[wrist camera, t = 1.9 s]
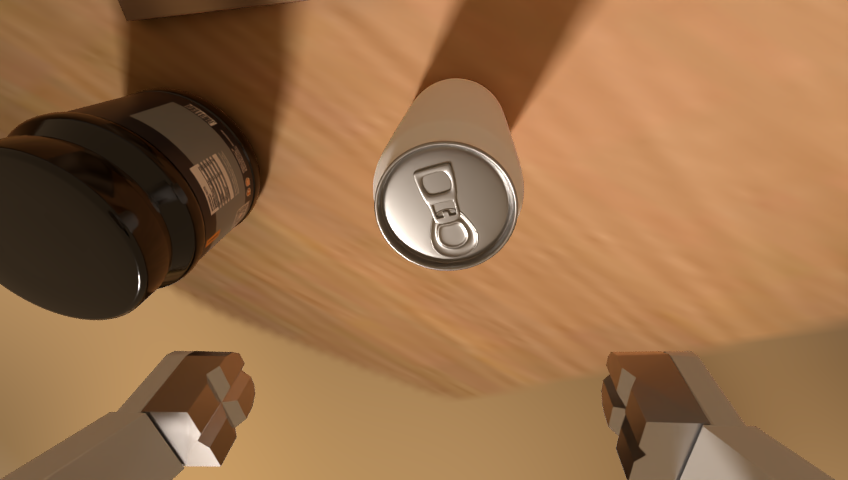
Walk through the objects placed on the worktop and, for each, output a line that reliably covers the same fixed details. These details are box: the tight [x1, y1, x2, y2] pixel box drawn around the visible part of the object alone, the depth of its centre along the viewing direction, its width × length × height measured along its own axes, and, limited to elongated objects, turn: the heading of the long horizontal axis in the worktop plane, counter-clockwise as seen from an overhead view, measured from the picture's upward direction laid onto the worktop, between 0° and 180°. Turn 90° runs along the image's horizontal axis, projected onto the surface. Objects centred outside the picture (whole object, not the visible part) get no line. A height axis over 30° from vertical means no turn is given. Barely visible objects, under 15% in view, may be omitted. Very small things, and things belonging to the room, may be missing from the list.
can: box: [373, 78, 524, 271], centre depth 20 cm, size 6×6×12 cm
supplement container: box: [0, 88, 260, 320], centre depth 23 cm, size 10×10×12 cm
